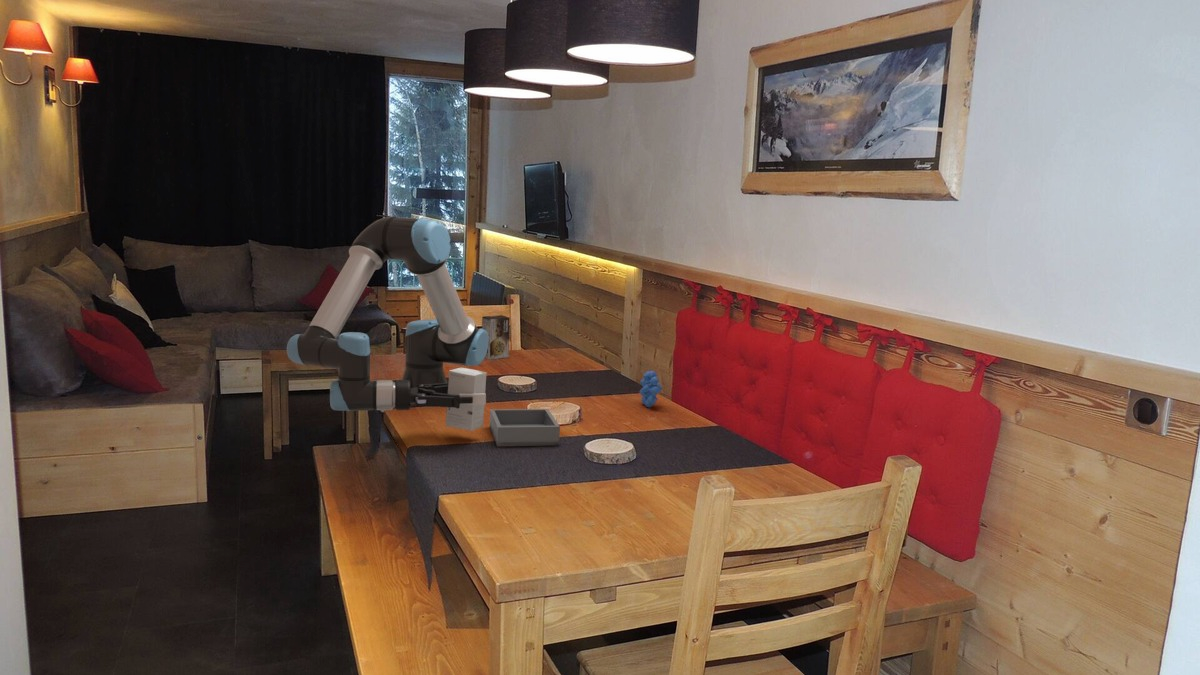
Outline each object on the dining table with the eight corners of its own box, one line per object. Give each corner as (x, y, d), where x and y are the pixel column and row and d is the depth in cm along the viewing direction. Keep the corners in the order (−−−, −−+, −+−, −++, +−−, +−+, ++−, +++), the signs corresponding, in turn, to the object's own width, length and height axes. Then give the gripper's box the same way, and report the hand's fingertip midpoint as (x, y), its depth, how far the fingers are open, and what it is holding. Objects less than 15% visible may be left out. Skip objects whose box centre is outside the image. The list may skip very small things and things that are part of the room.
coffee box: (500, 354, 333) (501, 314, 330) (509, 357, 328) (510, 317, 325) (480, 356, 327) (481, 315, 324) (489, 359, 322) (490, 318, 319)
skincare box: (445, 426, 216) (446, 370, 213) (458, 421, 221) (459, 366, 219) (472, 431, 212) (474, 374, 210) (485, 426, 218) (487, 370, 215)
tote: (489, 426, 230) (490, 409, 229) (547, 426, 234) (547, 408, 233) (497, 446, 212) (497, 427, 212) (559, 445, 216) (559, 426, 215)
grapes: (668, 411, 257) (670, 373, 255) (647, 412, 255) (650, 373, 253) (654, 402, 268) (656, 365, 266) (634, 402, 266) (636, 366, 264)
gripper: (394, 398, 222) (479, 397, 228) (394, 421, 201) (487, 419, 207) (394, 371, 221) (480, 370, 226) (394, 391, 200) (488, 390, 205)
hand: (483, 394), depth 216 cm, fingers closed on skincare box, 9 cm apart
